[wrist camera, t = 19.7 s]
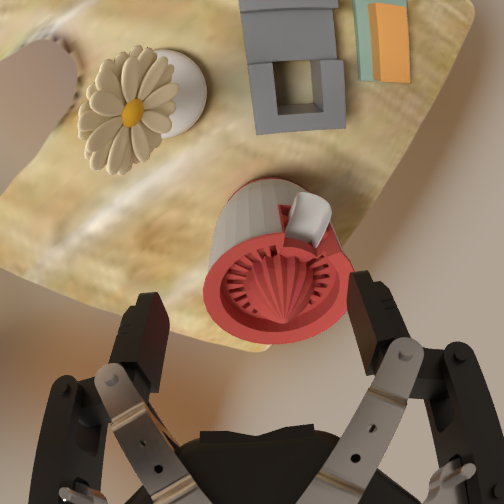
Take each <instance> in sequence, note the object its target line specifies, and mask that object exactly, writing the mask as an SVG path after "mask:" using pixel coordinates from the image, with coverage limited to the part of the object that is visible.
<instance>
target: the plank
mask: <svg viewBox="0 0 504 504" xmlns="http://www.w3.org/2000/svg"><path fill="white" fill-rule="evenodd" d="M368 14H369V24H370V35H371V49H372V67H373V79H374V80H377V81H380V82H399V83H410V56H409V36H408V22H407V11H406V7H405V6H399V5H392V4H384V3H371V4H368Z"/></svg>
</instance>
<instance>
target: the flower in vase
mask: <svg viewBox="0 0 504 504" xmlns="http://www.w3.org/2000/svg"><path fill="white" fill-rule="evenodd" d="M86 96H87V98H88V100H89V101H87V102H85V103H83V104H82V105H81V107H80V109H79V117H80V118H79V120H78V124H77V126H78V129H79V131H78V137H79V139H81V140H87V139H88V140H87V143H86V147H85V151H84V155H85V158H86V159H87V160H90V167H91V169H92V170H101V169H102V168H103V167H104V166H105V164H106V170H107V171H108V173H109V174H110V175H114V174H116V173H118V174H119V175H124V174H125V173H126V172H128V171H129V170H130V169H131V168H132V164H133V163H136V164H137V163H139V162H140V161H141V162H145V161H147V160H148V159H149V157H150V153H151V152H152V151H153V149H154V148H157V147H158V146H159V145H160V144H161V140H162V139H165V138H171V137H174V136H177V135H180V134H181V133H183V132H185V131H186V130H188V129H189V128H190V127H192V126H193V125H194V124H195V122H196V121H197V120H198V119H199V117H200V116H201V114H202V112H203V110H204V107H205V104H206V99H207V86H206V82H205V78H204V76H203V74H202V72H201V70H200V68H199V67H198V66H197V64H196V63H195V62H194V61H193V60H191V59H190V58H189V57H187V56H186V55H184V54H182V53H179V52H176V51H172V50H165V49H161V50H152V49H151V48H148V47H147V48H146V49H144V50H143V48H142V46H141V45H137V46H135V47H133V48H132V50H131V51H130V53H129V55H128V54H127V53H126V52H121V53H119V54H118V55H117V56H116V57H115V59H114V61H113V60H111V59H107V60H105V61H104V62H103V63H102V64H101V66H100V69H99V73H98V74H97V76H96V79H95V82H93V83H91V84H90V85H89V87H88V88H87V91H86Z"/></svg>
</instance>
